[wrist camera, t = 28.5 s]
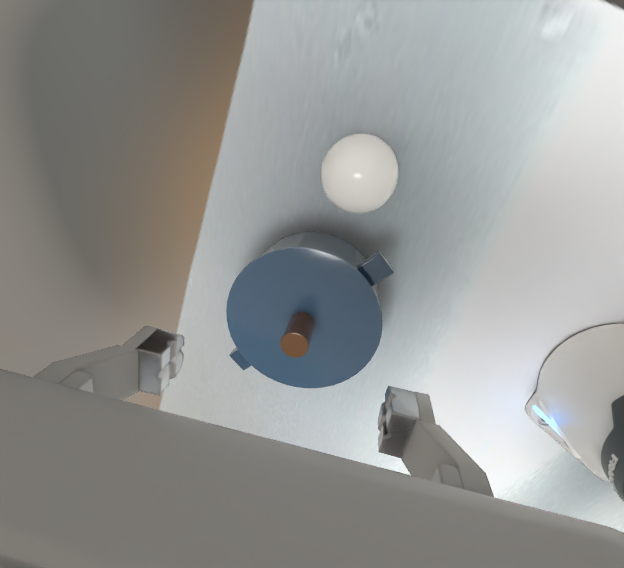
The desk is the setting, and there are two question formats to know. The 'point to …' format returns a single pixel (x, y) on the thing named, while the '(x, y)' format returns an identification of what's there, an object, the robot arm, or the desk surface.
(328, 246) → the pot
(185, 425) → the robot arm
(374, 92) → the desk surface
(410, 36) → the desk surface
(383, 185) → the lightbulb
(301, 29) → the desk surface
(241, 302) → the lid
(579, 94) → the desk surface
